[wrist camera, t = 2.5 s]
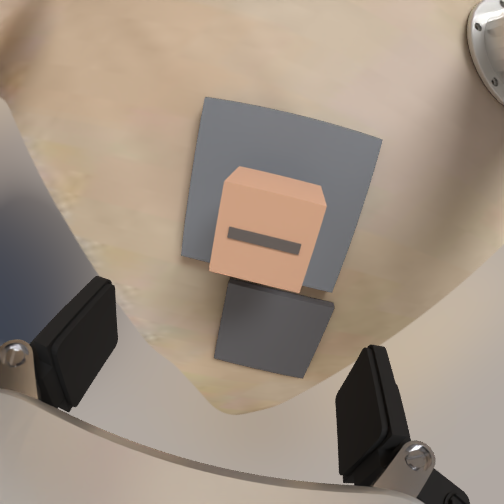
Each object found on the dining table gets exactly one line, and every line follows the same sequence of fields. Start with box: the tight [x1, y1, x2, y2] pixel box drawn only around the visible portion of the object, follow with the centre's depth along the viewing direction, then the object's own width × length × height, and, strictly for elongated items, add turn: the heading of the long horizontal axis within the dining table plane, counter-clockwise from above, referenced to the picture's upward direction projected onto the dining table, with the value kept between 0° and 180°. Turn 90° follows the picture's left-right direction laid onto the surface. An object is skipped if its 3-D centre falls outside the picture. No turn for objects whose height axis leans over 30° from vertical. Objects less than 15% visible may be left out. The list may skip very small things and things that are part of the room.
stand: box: [181, 97, 382, 293], centre depth 28 cm, size 15×15×2 cm
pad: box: [214, 278, 334, 378], centre depth 35 cm, size 11×11×1 cm
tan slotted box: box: [209, 166, 327, 293], centre depth 21 cm, size 6×6×5 cm
